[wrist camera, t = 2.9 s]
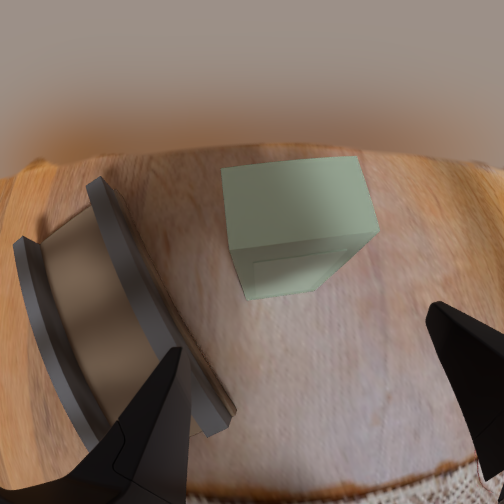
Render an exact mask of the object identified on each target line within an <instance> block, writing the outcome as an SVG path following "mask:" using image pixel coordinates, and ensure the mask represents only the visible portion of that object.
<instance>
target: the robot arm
mask: <svg viewBox="0 0 504 504" xmlns="http://www.w3.org/2000/svg"><path fill="white" fill-rule="evenodd" d="M426 326H427V329H428V332H429V334H430V337H431V339H432V342H433V345H434V347H435V350H436V353H437V355H438V358H439V360H440V362H441V364H442V366H443V369H444V371H445V373H446V375H447V377H448V380H449V382H450V384H451V386H452V389H453V391H454V393H455V396H456V398H457V401H458V403H459V406H460V408H461V411H462V413H463V416H464V418H465V421H466V424H467V426H468V429H469V432H470V435H471V437H472V440H473V444H474V447H475V450H476V453H477V456H478V459H479V463H480V466H481V469H482V473H483V477H484V480H485V482H486V481H488V480H490V479H491V478H493V477H494V476H496V475H497V474H499V473H500V472H502V471H503V470H504V334H502V333H501V332H499V331H497V330H495V329H493V328H491V327H490V326H488V325H486V324H484V323H482V322H480V321H478V320H476V319H475V318H473V317H471V316H469V315H467V314H465V313H463V312H461V311H459V310H457V309H455V308H453V307H451V306H449V305H448V304H446V303H444V302H442V301H437V302H434V303H431V305H430V307H429V310H428V313H427V316H426ZM191 409H192V398H191V367H190V362H189V359H188V357H187V354H186V352H185V349H184V348H183V347H182V346H177V347H171V348H170V349H169V350H168V352H167V353H166V354H165V356H164V357H163V358H162V360H161V361H160V362H159V364H158V365H157V366H156V368H155V369H154V370H153V372H152V373H151V374H150V376H149V377H148V378H147V380H146V381H145V382H144V384H143V385H142V386H141V388H140V389H139V390H138V392H137V393H136V394H135V396H134V397H133V399H132V400H131V401H130V403H129V404H128V405H127V407H126V408H125V409H124V411H123V412H122V413H121V415H120V416H119V417H118V420H116V421H115V423H114V424H113V425H112V427H111V428H110V429H109V431H108V432H107V433H106V434H105V436H104V437H103V438H102V439H101V440H100V442H99V443H98V444H97V445H96V446H95V447H94V448H93V449H92V450H91V452H90V453H89V454H88V455H87V456H86V457H85V458H84V459H83V460H82V461H81V462H80V463H79V464H78V465H77V466H76V467H75V468H74V469H73V470H72V471H71V472H70V473H69V474H67V475H66V476H64V477H62V478H60V479H57V480H54V481H50V482H47V483H43V484H39V485H36V486H32V487H28V488H23V489H19V490H6V489H3V488H1V487H0V504H186V482H187V464H188V449H189V435H190V422H191ZM498 504H504V484H503V487H502V490H501V493H500V496H499V499H498Z"/></svg>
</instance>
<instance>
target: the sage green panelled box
mask: <svg viewBox="0 0 504 504" xmlns="http://www.w3.org/2000/svg"><path fill="white" fill-rule="evenodd" d="M221 177H222V187H223V197H224V206H225V216H226V225H227V235H228V244H229V251H230V254H231V257H232V260H233V263H234V266H235V268H236V271H237V274H238V277H239V280H240V283H241V286H242V288H243V291H244V294H245V297H246V300H247V301H248V300H256V299H263V298H270V297H277V296H284V295H291V294H298V293H304V292H311V291H315V290H316V289H317V288H318V287H319V286H321V285H322V284H323V283H324V282H325V281H326V280H327V279H328V278H330V277H331V276H332V275H333V274H334V273H335V272H336V271H337V270H339V269H340V268H341V267H342V266H343V265H344V264H345V263H346V262H347V261H348V260H350V259H351V258H352V257H353V256H354V255H355V254H356V253H357V252H358V251H359V250H360V249H361V248H362V247H364V246H365V245H366V244H367V243H368V242H369V241H370V240H371V239H372V238H373V237H374V236H375V235H376V234H377V233H378V232H379V231H380V229H379V225H378V221H377V218H376V214H375V211H374V207H373V204H372V201H371V198H370V194H369V191H368V188H367V185H366V182H365V179H364V176H363V173H362V170H361V167H360V164H359V162H358V159H357V156H345V157H327V158H312V159H299V160H288V161H278V162H268V163H259V164H251V165H243V166H235V167H228V168H221Z"/></svg>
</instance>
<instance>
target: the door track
mask: <svg viewBox="0 0 504 504" xmlns="http://www.w3.org/2000/svg"><path fill="white" fill-rule="evenodd" d="M86 189H87V193H88V196H89V199H90V202H91V206H90V207H88V208H87V209H85V210H84V211H83V212H81V213H80V214H78V215H77V216H76V217H74V218H73V219H72V220H70V221H69V222H67V223H66V224H65V225H64V226H62V227H61V228H60V229H58V230H57V231H56V232H54V233H53V234H52V235H51V236H49V237H48V238H47V239H46V240H44V241H43V242H42V243H41V244H37V243H35V242H34V241H32V240H30V239H28V238H26V237H24V236H22V237H21V238H20V239H19V240H17V241H16V242H15V243H14V244H13V249H14V256H15V261H16V267H17V272H18V277H19V281H20V286H21V290H22V294H23V298H24V302H25V306H26V310H27V313H28V317H29V320H30V324H31V327H32V330H33V333H34V336H35V339H36V342H37V345H38V348H39V351H40V353H41V356H42V359H43V361H44V364H45V366H46V369H47V371H48V374H49V376H50V379H51V381H52V383H53V386H54V388H55V390H56V392H57V394H58V397H59V399H60V401H61V403H62V405H63V407H64V409H65V411H66V413H67V415H68V417H69V419H70V420H71V422H72V424H73V426H74V428H75V430H76V431H77V433H78V435H79V437H80V438H81V440H82V442H83V443H84V445H85V447H86V448H87V450H88V452H89V453H90V452H91V450H92V449H93V448H94V447H95V446H96V445H97V444H98V443H99V442H100V440H101V439H102V438H103V437H104V436H105V434H106V433H107V432H108V431H109V429H110V428H111V427H112V425H113V424H114V423H115V421H116V420H118V417H119V416H120V415H121V413H122V412H123V411H124V409H125V408H126V407H127V405H128V404H129V403H130V401H131V400H132V399H133V397H134V396H135V394H136V393H137V392H138V390H139V389H140V388H141V386H142V385H143V384H144V382H145V381H146V380H147V378H148V377H149V376H150V374H151V373H152V372H153V370H154V369H155V368H156V366H157V365H158V364H159V362H160V361H161V360H162V358H163V357H164V356H165V354H166V353H167V352H168V350H169V349H170V348H171V347H177V346H182V347H183V348H184V349H185V352H186V354H187V357H188V359H189V362H190V367H191V398H192V409H191V422H190V435H189V437H191V436H193V435H196V434H198V433H200V432H202V431H203V432H204V434H205V435H206V437H207V438H208V437H210V436H212V435H214V434H216V433H218V432H220V431H222V430H225V429H227V428H228V427H229V424H230V421H231V419H232V417H233V416H235V415H236V411H237V409H236V408H235V406H234V405H233V403H232V402H231V400H230V399H229V397H228V396H227V394H226V393H225V391H224V390H223V388H222V387H221V385H220V383H219V382H218V380H217V379H216V377H215V375H214V374H213V372H212V371H211V369H210V367H209V366H208V364H207V362H206V361H205V359H204V357H203V356H202V354H201V352H200V351H199V349H198V347H197V346H196V344H195V342H194V340H193V339H192V337H191V335H190V333H189V332H188V330H187V328H186V326H185V325H184V323H183V321H182V319H181V317H180V315H179V314H178V312H177V310H176V308H175V306H174V304H173V302H172V301H171V299H170V297H169V295H168V293H167V291H166V289H165V287H164V285H163V283H162V281H161V279H160V277H159V275H158V273H157V271H156V269H155V267H154V265H153V263H152V261H151V259H150V257H149V255H148V253H147V251H146V248H145V246H144V244H143V242H142V240H141V238H140V235H139V233H138V231H137V229H136V227H135V224H134V222H133V220H132V217H131V215H130V213H129V210H128V208H127V206H126V203H125V201H124V199H123V196H122V195H121V194H120V193H119V192H118V191H117V190H116V189H115V190H113V189H112V188H111V187H110V186H109V185H108V184H107V183H106V181H105V180H104V179H103V178H102V177H101V176H100V177H98V178H97V179H95V180H94V181H92V182H91V183H89V184H88V185H86Z"/></svg>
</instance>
